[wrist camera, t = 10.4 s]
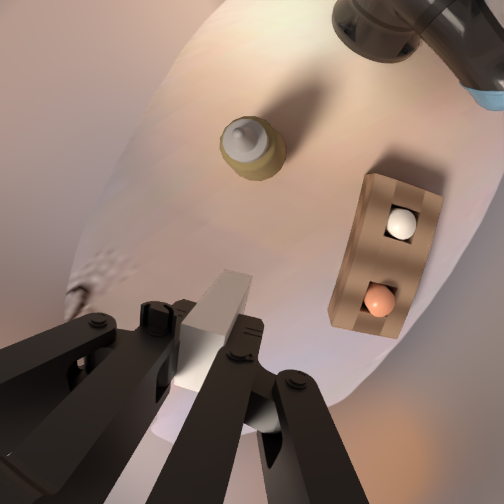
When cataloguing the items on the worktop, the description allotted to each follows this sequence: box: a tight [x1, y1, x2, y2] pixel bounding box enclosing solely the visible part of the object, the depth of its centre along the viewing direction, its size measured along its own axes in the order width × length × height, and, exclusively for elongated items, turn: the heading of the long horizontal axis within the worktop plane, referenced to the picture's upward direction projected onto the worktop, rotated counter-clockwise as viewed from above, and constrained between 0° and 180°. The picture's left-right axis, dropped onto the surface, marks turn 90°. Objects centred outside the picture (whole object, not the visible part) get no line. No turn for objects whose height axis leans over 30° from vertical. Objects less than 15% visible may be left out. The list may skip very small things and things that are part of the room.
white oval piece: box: [385, 207, 416, 239], centre depth 38 cm, size 4×4×6 cm
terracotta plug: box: [363, 281, 395, 317], centre depth 40 cm, size 4×4×6 cm
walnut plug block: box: [327, 173, 443, 339], centre depth 40 cm, size 22×11×6 cm, turn 168°
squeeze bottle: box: [220, 116, 286, 181], centre depth 33 cm, size 8×8×18 cm
